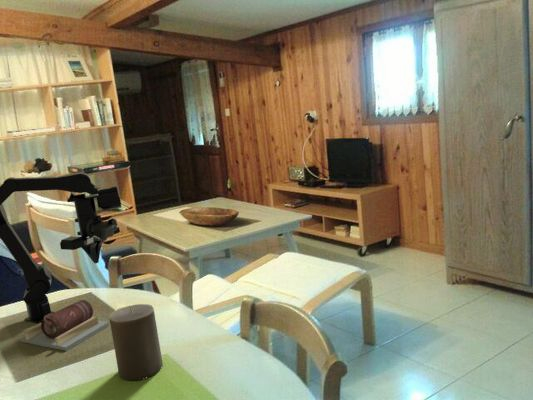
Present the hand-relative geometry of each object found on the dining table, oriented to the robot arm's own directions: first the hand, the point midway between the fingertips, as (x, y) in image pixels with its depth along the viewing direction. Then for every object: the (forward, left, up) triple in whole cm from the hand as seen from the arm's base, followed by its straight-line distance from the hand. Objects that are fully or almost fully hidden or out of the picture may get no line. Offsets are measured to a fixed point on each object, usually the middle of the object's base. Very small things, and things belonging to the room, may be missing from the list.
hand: (96, 263), depth 153 cm
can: (+5, -11, -10) cm, 15 cm away
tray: (+6, -20, -13) cm, 24 cm away
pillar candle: (+41, -28, -13) cm, 51 cm away
